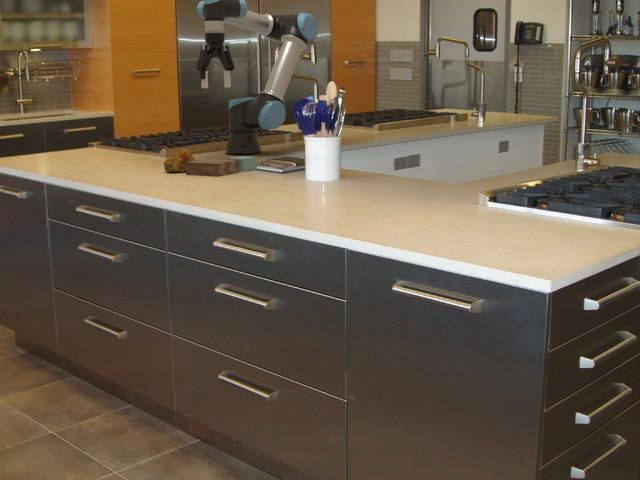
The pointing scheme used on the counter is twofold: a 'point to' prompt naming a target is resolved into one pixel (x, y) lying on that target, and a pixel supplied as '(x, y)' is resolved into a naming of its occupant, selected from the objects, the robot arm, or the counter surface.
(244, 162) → the teal block
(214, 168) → the walnut block
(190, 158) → the rock
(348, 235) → the counter surface
